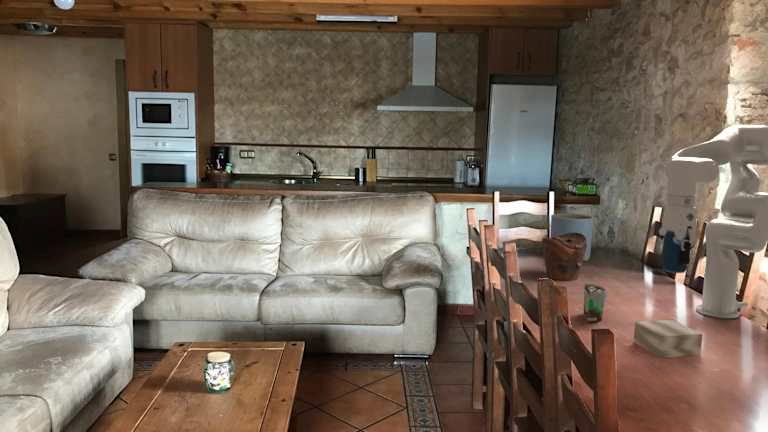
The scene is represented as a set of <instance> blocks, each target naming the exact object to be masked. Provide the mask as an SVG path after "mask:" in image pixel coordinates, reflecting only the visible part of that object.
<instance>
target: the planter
mask: <svg viewBox="0 0 768 432" xmlns="http://www.w3.org/2000/svg"><path fill="white" fill-rule="evenodd" d="M594 218H595V217H594V216H592V215H587V214H581V213H580V214H578V213H553V214H551V216H550V238H552V237H555V236H559V235H563V234H567V233H580V234H582V235H584V236H585V237H586V239H587V250H586V252H585V255H584V259H583V262H584V261H586V262H589V259H590V257H591V249H592V240H593V230H594Z"/></svg>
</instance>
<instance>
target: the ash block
mask: <svg viewBox="0 0 768 432" xmlns="http://www.w3.org/2000/svg"><path fill="white" fill-rule="evenodd" d="M633 343H635V344H636V345H638V346H640V347H641V348H643V349H645V350H646V351H648V352H649V353H651V354H653V355H654V356H656V357H658V358H659V359H661V358H662V359H663V358H665V359H666V358H677V357H678V358H679V357H696V356H697V357H699V356H701V355H702V354H701V353H702V352H701V351H702V343H703V333H701V332H699V331H697V330H695V329H692V328H690V327H689V326H687V325H684V324H682V323H681V322H679V321H677V320H674V319H665V320H663V319H662V320H660V319H659V320H643V321H642V320H641V321H635V322H634V334H633Z"/></svg>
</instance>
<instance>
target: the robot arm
mask: <svg viewBox="0 0 768 432" xmlns="http://www.w3.org/2000/svg"><path fill="white" fill-rule="evenodd" d="M728 163H729V168H730V173H731V179H730V181H729V184H728V186H727V190H726V191H725V194H724V197H723V199H722V202H721V205H720V212H721V215H723V216H724V217H725V218H722V217H721V218H714V219H712V220H710V221H709V222H707V224H706V227H705V229H704V232H705V233H704V236H705V237H704V238H705V243H706V244H705V246H706V251H705V253H706V257H705V268H704V277H703V278H704V279H703V287H702V288H703V289H702V301H701V304H698V305H697V306H696V308H695V309H696V311H697V313H699V314H701V315H704V316H708V317H713V318H718V319H737V318H739V317H740V314H741V313H740V311H739V310H738V309H740V308H741V309H744V308H745V309H747V308H748V306H749V303H748V302H747V301H740V302H739V300H737V299H736V298H737V287H738V278H739V268H740V261H739V258H738V256H737V254H736V252H735V251H741V252H747V253H759V252H762V250H764V249H765V247H766V246H767V243H768V193H767V192H759V190H760V189H759V188H760V185H761V178H760V176H759V174H758V173H757V171H755V169H754V168H753V166H754V165H755V166H768V126H767V125H762V124H761V125H760V124H759V125H757V124H755V125H754V124H753V125H751V124H746V125H745V124H739V125H731V126H729V127H727V128H726V129H724V130H723V131H722V132H721V133H719V134H718V135H717V136H715V137H714V138H713V139H711V140H710V141H705V142H701V143H699V144H695V145H691V146H688V147H685V148H683V149H681V150H680V151H678V152H676V153H675V154H674V155H673V156H671V157H670V158H669V160H667V163H666V165H665V170H664V172H665V173H664V174H665V175H666V177H667V186H666V187H667V188H666V195H665V196H666V197H665V206H664V211H663V216H662V221H661V222H662V224H661V227H660V228H659V229H658V233H659V235H660V239H661V244H662V246H663V245H664V236H665V234H666V233H667V231H670V232H674V233H675V236H676V238H677V240H678V241H680V247H681V250H679V260H678V263H679V264H688V265H689V264H690V259H691V251H693V248H694V247H695V245H697V242H698V241H699V239H698V238H697V234H698V233H697V228H698V226H697V223H698V220H697V219H698V216H697V215H698V214H697V209H696V207H695V202H696V193H697V192H696V190H697V184H700V185H702V184H703V185H704V184H711V183H713V182H714V181H715V180H716V179H717V178H718V176H719V174H720V168H719V166H724V165H726V164H728ZM684 237H687V238H688V240H684ZM684 242H687V244H686V245H684ZM661 249H662V251H661V257H662V256H663V247H662V248H661Z"/></svg>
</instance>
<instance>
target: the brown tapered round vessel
mask: <svg viewBox="0 0 768 432" xmlns="http://www.w3.org/2000/svg"><path fill="white" fill-rule="evenodd" d="M540 247H541V248H542V252H543V254H542V255H543V259H544V267H545V275H546V277H547V278H549V279H552V280H558V281H559V280H560V281H574V280H578V278H579V277H580V274H581V270H582V267H583V262H584V260H583V259H584V255H585V252H586V250H587V239H586V237H585V236H584V235H582V234H580V233H567V234H563V235H559V236H555V237H552V238H551V237H543V238H542V239H541V244H540Z"/></svg>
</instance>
